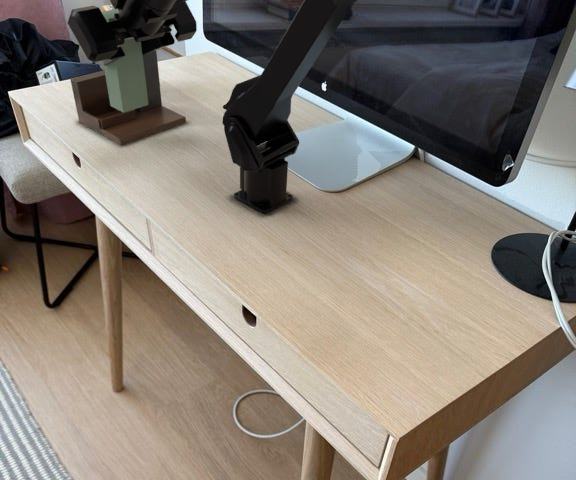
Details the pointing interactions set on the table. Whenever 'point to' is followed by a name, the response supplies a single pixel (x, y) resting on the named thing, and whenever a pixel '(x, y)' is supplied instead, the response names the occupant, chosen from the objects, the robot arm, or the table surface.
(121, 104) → the green upright block
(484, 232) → the table surface
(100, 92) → the frame
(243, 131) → the robot arm
